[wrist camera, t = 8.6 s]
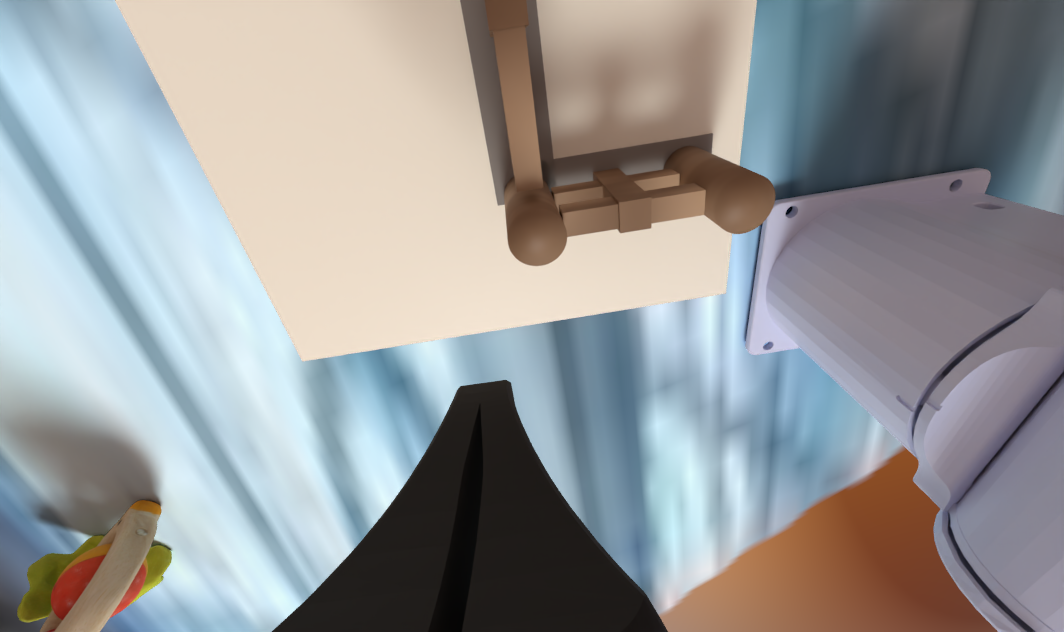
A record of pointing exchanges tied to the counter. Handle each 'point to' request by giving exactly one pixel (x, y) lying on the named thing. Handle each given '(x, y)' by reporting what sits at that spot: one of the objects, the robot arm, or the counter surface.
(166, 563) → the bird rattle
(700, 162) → the frame
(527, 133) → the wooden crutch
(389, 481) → the counter surface
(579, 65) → the card
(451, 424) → the robot arm
